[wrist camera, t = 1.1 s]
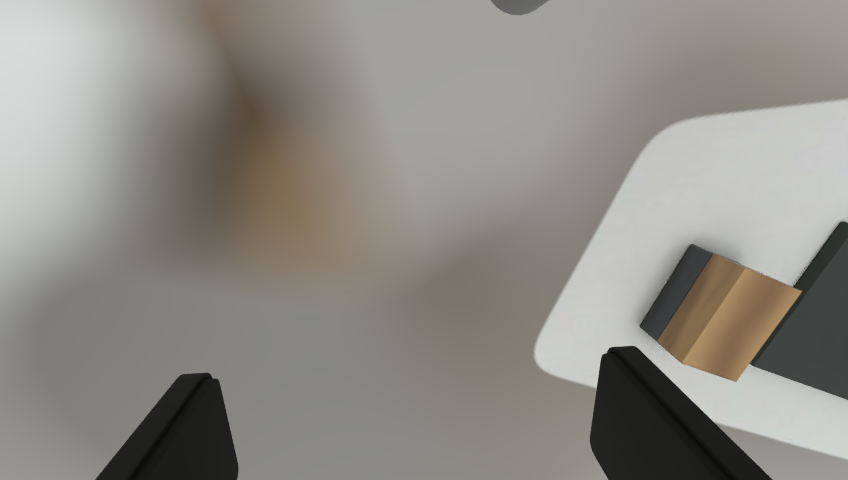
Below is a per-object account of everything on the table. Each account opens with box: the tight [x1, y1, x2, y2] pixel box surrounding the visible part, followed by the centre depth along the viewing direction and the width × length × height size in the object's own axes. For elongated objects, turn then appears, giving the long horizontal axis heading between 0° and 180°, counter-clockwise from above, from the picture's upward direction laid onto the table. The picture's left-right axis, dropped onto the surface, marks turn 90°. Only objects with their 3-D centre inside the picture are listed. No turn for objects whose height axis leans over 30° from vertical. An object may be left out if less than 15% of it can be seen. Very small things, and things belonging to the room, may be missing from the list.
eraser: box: [640, 244, 802, 382], centre depth 27 cm, size 4×7×4 cm, turn 158°
